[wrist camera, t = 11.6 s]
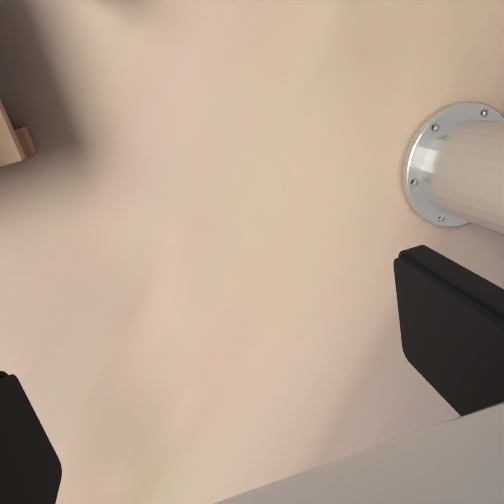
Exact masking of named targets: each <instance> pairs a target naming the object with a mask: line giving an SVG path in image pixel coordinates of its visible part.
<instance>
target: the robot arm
mask: <svg viewBox="0 0 504 504" xmlns="http://www.w3.org/2000/svg"><path fill="white" fill-rule="evenodd" d="M402 181H403V189H404V193H405V197H406V199H407V201H408V203H409V205H410V207H411V208H412V209H413V211H414V212H415V213H416V214H417V215H418V216H420V217H421V218H422V219H424V220H426V221H428V222H430V223H432V224H435V225H438V226H443V227H454V226H460V225H463V224H466V223H469V222H472V223H474V224H477V225H480V226H482V227H485V228H488V229H490V230H493V231H495V232H498V233H501V234H503V235H504V117H503V116H502V115H501V114H500V113H499V112H498V111H497V110H495V109H493V108H492V107H490V106H488V105H485V104H481V103H472V102H465V103H457V104H453V105H450V106H447V107H445V108H443V109H441V110H439V111H437V112H436V113H435V114H434V115H432V116H431V117H430V118H428V119H427V120H426V122H425V123H424V124H423V125H422V126H421V127H420V128H419V130H418V131H417V133H416V134H415V136H414V137H413V139H412V141H411V143H410V145H409V147H408V149H407V152H406V156H405V159H404V163H403V171H402ZM394 274H395V283H396V292H397V302H398V311H399V320H400V330H401V339H402V347H403V352H404V354H405V357H406V358H407V360H408V361H409V362H410V363H411V365H412V366H413V367H414V368H415V369H416V370H417V371H418V372H419V373H420V374H421V375H422V376H423V377H424V378H425V379H426V380H427V381H428V382H429V383H430V384H431V385H432V386H433V387H434V388H435V390H436V391H437V392H438V393H439V394H440V395H441V396H442V397H443V398H444V399H445V400H446V401H447V402H448V403H449V404H450V405H451V406H452V407H453V408H454V409H455V410H456V411H457V412H458V413H459V415H460V416H461V417H458V418H456V419H453V420H450V421H447V422H444V423H441V424H438V425H435V426H433V427H430V428H427V429H424V430H421V431H418V432H415V433H412V434H410V435H407V436H404V437H401V438H398V439H395V440H392V441H389V442H387V443H384V444H381V445H378V446H375V447H372V448H370V449H367V450H364V451H361V452H358V453H355V454H353V455H350V456H347V457H344V458H341V459H338V460H336V461H333V462H330V463H327V464H324V465H322V466H319V467H316V468H313V469H310V470H307V471H305V472H302V473H299V474H296V475H293V476H290V477H288V478H285V479H282V480H279V481H276V482H273V483H271V484H268V485H265V486H262V487H259V488H256V489H254V490H251V491H248V492H245V493H242V494H240V495H237V496H234V497H231V498H228V499H225V500H223V501H220V502H217V503H214V504H504V289H502V288H500V287H499V286H497V285H495V284H493V283H491V282H490V281H488V280H486V279H484V278H482V277H481V276H479V275H477V274H475V273H473V272H472V271H470V270H468V269H466V268H464V267H463V266H461V265H459V264H457V263H455V262H454V261H452V260H450V259H448V258H446V257H445V256H443V255H441V254H439V253H437V252H436V251H434V250H432V249H430V248H428V247H427V246H425V245H420V246H417V247H413V248H410V249H407V250H403V251H401V252H400V253H399V257H398V258H396V259H395V260H394ZM61 476H62V469H61V463H60V461H59V458H58V456H57V454H56V452H55V450H54V449H53V447H52V445H51V443H50V441H49V439H48V437H47V435H46V433H45V431H44V429H43V427H42V425H41V423H40V421H39V419H38V417H37V415H36V413H35V411H34V409H33V407H32V406H31V404H30V402H29V400H28V398H27V396H26V394H25V392H24V390H23V388H22V386H21V384H20V382H19V380H18V378H17V377H16V376H15V375H13V374H11V375H8V374H7V373H5V372H4V371H0V504H55V503H56V499H57V494H58V490H59V486H60V481H61Z"/></svg>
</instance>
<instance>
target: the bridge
mask: <svg viewBox="0 0 504 504" xmlns="http://www.w3.org/2000/svg"><path fill="white" fill-rule="evenodd" d="M36 151H37V149H36V147H35V145H34V142H33V140H32V137H31V135H30V133H29V130H28V128H27V126H25V127H21V128H18V129H13V127H12V125H11V122H10V120H9V118H8V115H7V113H6V111H5V108H4V106H3V104H2V102H1V99H0V166H4V165H8V164H11V163H15V162H19V161H22V160H24V159H26V158H27V157H29V156H30V155H32V154H33V153H35V152H36Z"/></svg>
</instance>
